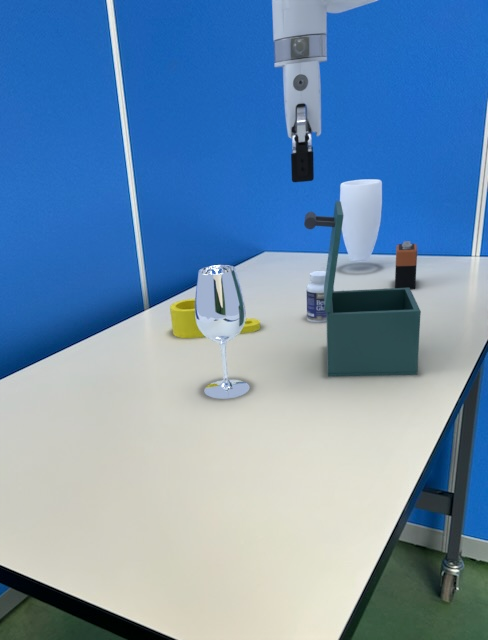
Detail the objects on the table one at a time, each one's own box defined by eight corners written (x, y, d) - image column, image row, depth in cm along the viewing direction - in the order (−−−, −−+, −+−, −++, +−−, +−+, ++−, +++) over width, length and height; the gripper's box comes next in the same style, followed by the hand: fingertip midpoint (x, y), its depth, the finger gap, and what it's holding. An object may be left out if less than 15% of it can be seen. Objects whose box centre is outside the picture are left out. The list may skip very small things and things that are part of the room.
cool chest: (406, 347, 110) (409, 287, 105) (416, 376, 99) (420, 311, 94) (326, 349, 113) (326, 291, 108) (327, 378, 102) (327, 314, 97)
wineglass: (244, 377, 105) (235, 260, 97) (256, 396, 98) (248, 271, 90) (199, 385, 104) (186, 267, 96) (208, 404, 97) (195, 279, 89)
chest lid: (340, 201, 101) (306, 199, 102) (343, 215, 90) (305, 212, 91) (328, 289, 108) (297, 286, 109) (330, 312, 97) (294, 309, 97)
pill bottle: (316, 325, 125) (316, 278, 121) (301, 319, 129) (300, 273, 125) (339, 320, 127) (339, 272, 123) (323, 313, 131) (323, 268, 127)
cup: (386, 272, 155) (389, 182, 145) (344, 277, 155) (344, 187, 146) (374, 263, 164) (376, 177, 155) (334, 267, 164) (334, 182, 155)
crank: (169, 340, 126) (166, 312, 124) (177, 326, 133) (173, 299, 131) (258, 336, 123) (257, 307, 120) (261, 322, 130) (259, 295, 128)
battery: (394, 291, 140) (396, 246, 136) (394, 282, 146) (396, 240, 142) (415, 290, 139) (417, 245, 135) (414, 282, 145) (417, 239, 141)
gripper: (328, 45, 81) (329, 182, 89) (325, 53, 97) (325, 169, 104) (271, 52, 83) (276, 186, 90) (276, 59, 98) (280, 173, 106)
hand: (302, 177), depth 97 cm, fingers open, 9 cm apart
